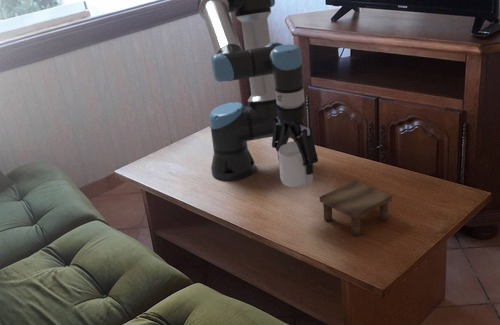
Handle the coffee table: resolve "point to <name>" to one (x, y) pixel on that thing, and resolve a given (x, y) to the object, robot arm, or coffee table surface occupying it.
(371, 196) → the footstool
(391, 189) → the coffee table surface
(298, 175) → the cup
